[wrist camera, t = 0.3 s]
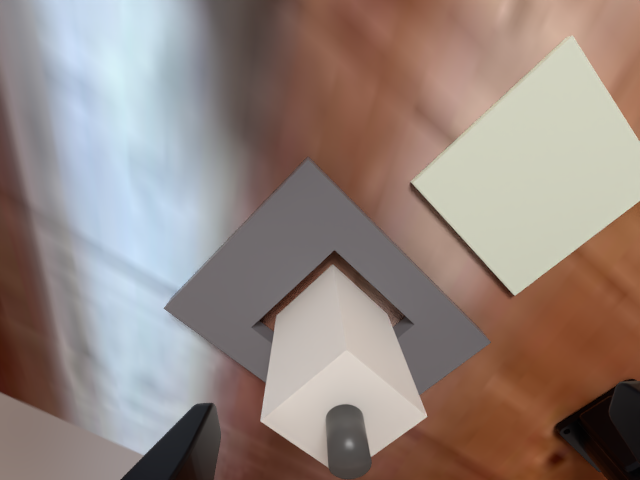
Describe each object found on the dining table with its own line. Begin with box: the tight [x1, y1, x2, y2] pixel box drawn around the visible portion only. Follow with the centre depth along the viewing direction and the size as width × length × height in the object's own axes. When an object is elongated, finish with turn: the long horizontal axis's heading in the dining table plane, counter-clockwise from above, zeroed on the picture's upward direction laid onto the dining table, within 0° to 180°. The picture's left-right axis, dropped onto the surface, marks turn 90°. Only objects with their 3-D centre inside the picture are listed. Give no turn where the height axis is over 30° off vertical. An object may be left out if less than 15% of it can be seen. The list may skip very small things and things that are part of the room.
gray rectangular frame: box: [164, 157, 491, 395], centre depth 22 cm, size 16×12×1 cm
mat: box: [411, 36, 640, 296], centre depth 19 cm, size 10×10×1 cm
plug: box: [260, 264, 427, 479], centre depth 17 cm, size 5×5×10 cm
